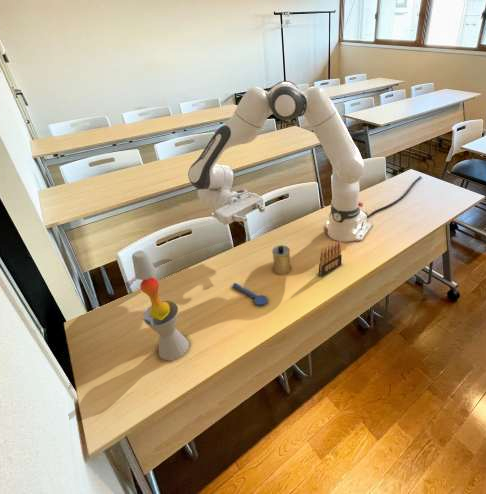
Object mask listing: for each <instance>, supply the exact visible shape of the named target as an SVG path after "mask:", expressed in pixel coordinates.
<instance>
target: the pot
mask: <svg viewBox="0 0 486 494" xmlns="http://www.w3.org/2000/svg"><path fill="white" fill-rule="evenodd" d="M290 253H291V249H290V247H289V246H287V245H281V244H279V245H276V246H275V247H273V248H272V250H271V254H272V258H273V270H274V272H275V273H276V274H279V275H286V274H288V273H290V271H291V256H290Z"/></svg>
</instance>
